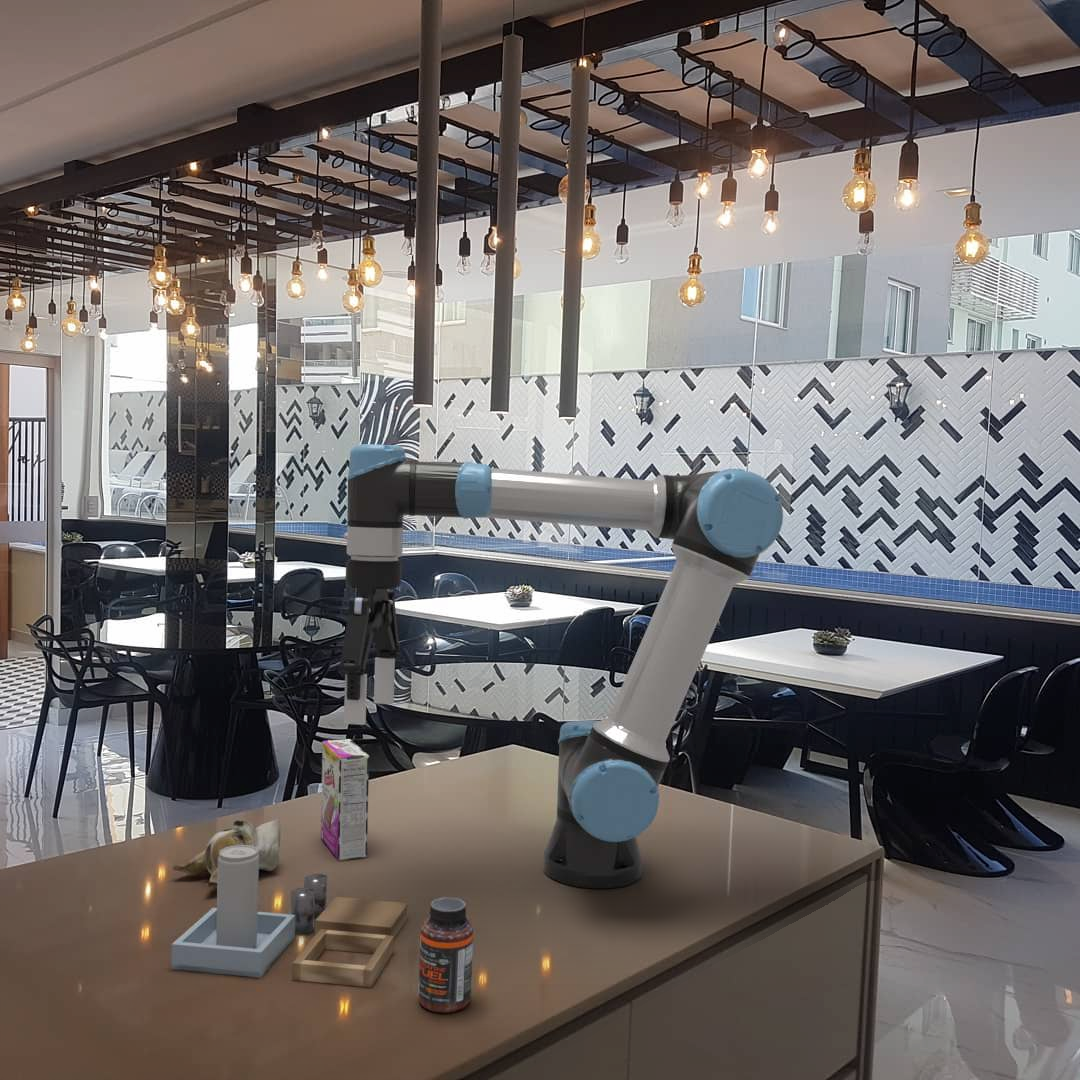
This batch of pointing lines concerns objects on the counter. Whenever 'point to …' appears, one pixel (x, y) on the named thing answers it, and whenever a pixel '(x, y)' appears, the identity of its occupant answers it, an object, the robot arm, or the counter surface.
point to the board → (363, 916)
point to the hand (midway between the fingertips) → (369, 713)
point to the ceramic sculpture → (239, 834)
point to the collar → (338, 972)
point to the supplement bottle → (446, 957)
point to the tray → (205, 956)
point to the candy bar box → (344, 799)
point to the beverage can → (237, 896)
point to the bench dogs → (309, 902)
